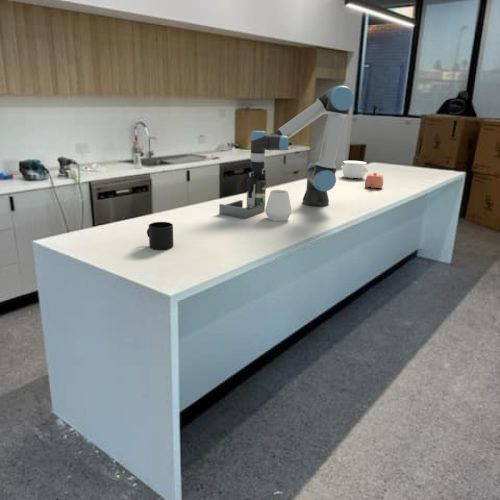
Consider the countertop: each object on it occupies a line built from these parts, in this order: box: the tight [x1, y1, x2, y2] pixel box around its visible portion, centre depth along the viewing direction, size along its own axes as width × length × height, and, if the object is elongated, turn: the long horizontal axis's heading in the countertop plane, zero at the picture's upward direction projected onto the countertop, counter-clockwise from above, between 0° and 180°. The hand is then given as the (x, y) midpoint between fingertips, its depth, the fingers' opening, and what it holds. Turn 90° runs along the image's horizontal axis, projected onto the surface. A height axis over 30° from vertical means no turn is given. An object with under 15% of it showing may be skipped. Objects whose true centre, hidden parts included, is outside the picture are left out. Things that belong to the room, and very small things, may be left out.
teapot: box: [364, 172, 384, 189], centre depth 318 cm, size 12×18×10 cm, turn 151°
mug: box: [146, 221, 174, 251], centre depth 183 cm, size 9×12×9 cm
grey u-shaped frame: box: [218, 199, 266, 219], centre depth 240 cm, size 16×20×5 cm
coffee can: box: [246, 179, 267, 208], centre depth 249 cm, size 10×10×14 cm
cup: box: [264, 189, 293, 222], centre depth 229 cm, size 13×13×14 cm
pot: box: [340, 160, 369, 179], centre depth 356 cm, size 22×17×12 cm
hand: (255, 202), depth 251 cm, fingers closed on coffee can, 10 cm apart
